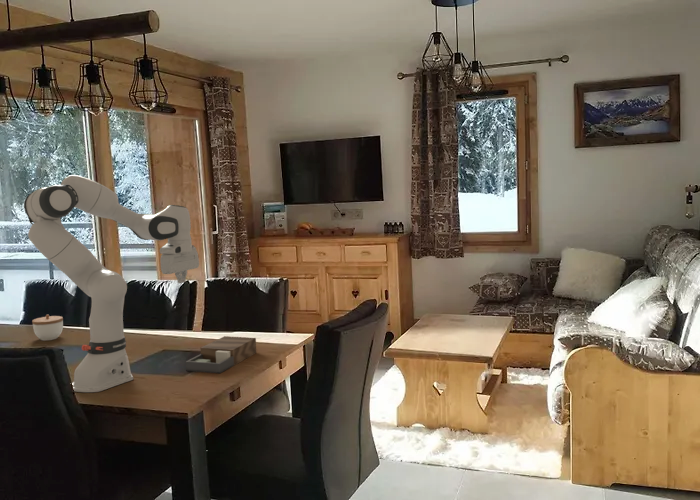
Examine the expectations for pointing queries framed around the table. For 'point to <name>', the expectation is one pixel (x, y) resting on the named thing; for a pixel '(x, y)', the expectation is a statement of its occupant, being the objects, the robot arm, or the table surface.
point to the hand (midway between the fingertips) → (181, 282)
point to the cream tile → (222, 355)
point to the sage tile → (203, 360)
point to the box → (209, 365)
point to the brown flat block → (230, 348)
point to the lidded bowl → (48, 327)
